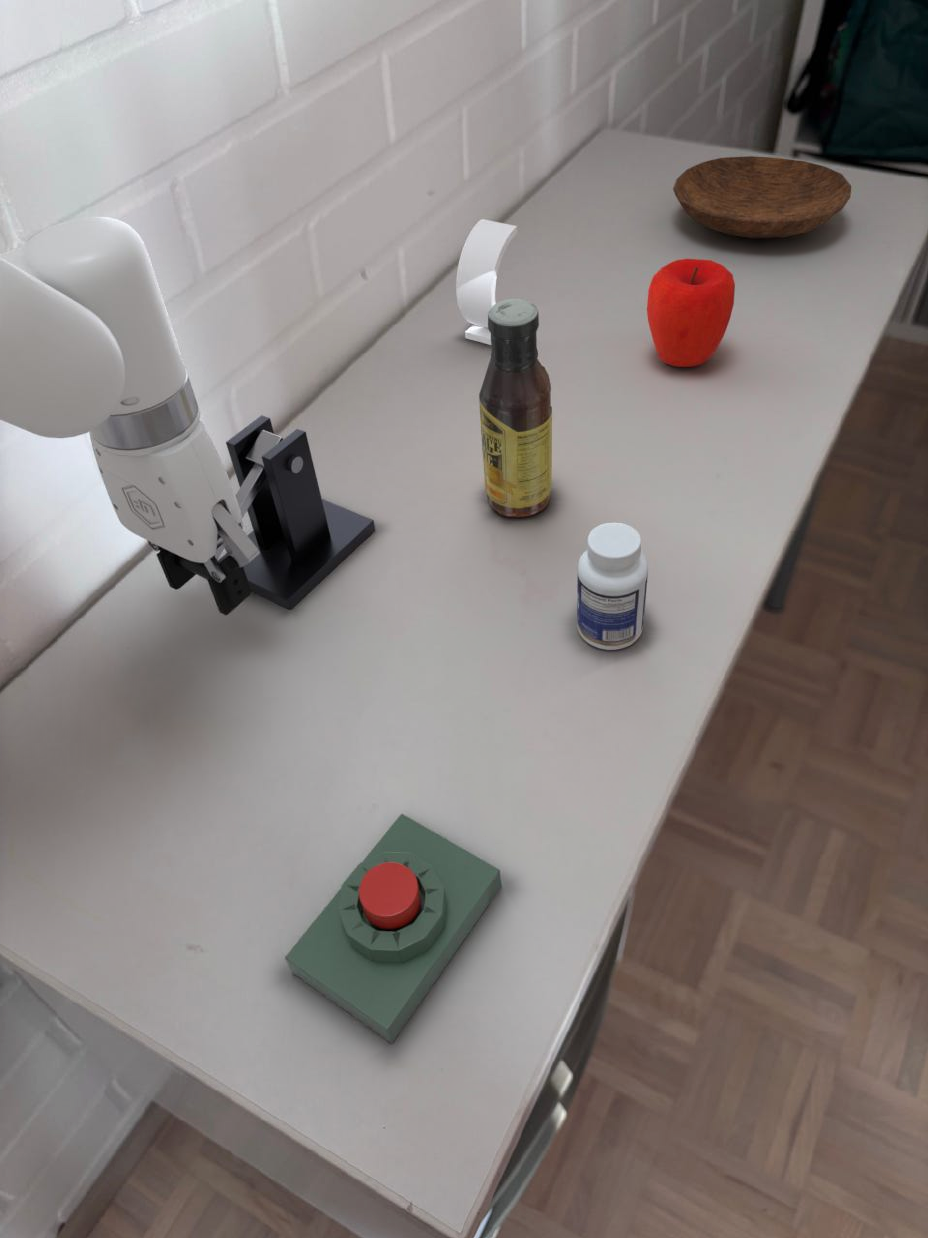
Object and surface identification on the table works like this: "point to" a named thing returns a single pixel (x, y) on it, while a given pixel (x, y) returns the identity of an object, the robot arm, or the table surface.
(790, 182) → the bowl
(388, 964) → the button box
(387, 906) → the button
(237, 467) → the bracket
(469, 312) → the headphone stand
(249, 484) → the lever
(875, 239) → the table surface
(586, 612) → the pill bottle
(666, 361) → the apple
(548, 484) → the sauce bottle
